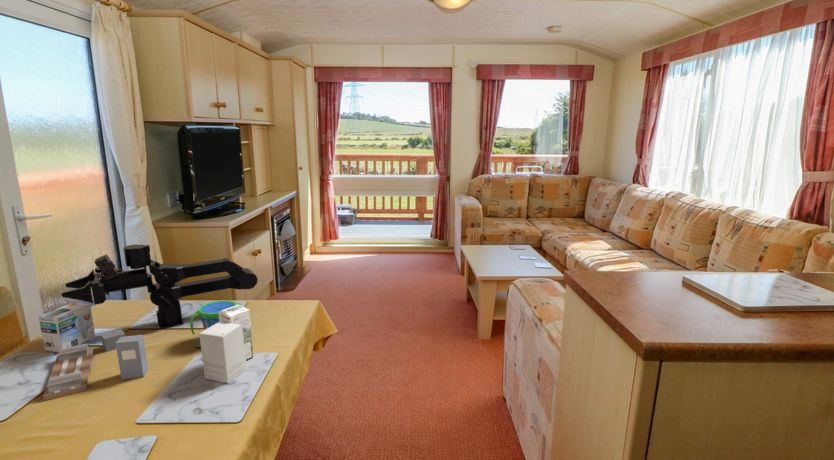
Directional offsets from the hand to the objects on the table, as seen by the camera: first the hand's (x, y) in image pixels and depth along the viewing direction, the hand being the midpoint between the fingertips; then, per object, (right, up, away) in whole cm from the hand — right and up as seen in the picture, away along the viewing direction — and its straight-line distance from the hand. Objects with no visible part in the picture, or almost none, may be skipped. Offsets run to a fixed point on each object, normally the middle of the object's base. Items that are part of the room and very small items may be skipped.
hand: (63, 290), depth 127 cm
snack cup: (+42, -16, +6) cm, 46 cm away
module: (+29, -20, -13) cm, 37 cm away
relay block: (+13, -17, +2) cm, 22 cm away
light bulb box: (-1, -16, +4) cm, 17 cm away
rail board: (+12, -20, -13) cm, 27 cm away
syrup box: (+52, -18, -6) cm, 56 cm away
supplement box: (+52, -20, -13) cm, 57 cm away
